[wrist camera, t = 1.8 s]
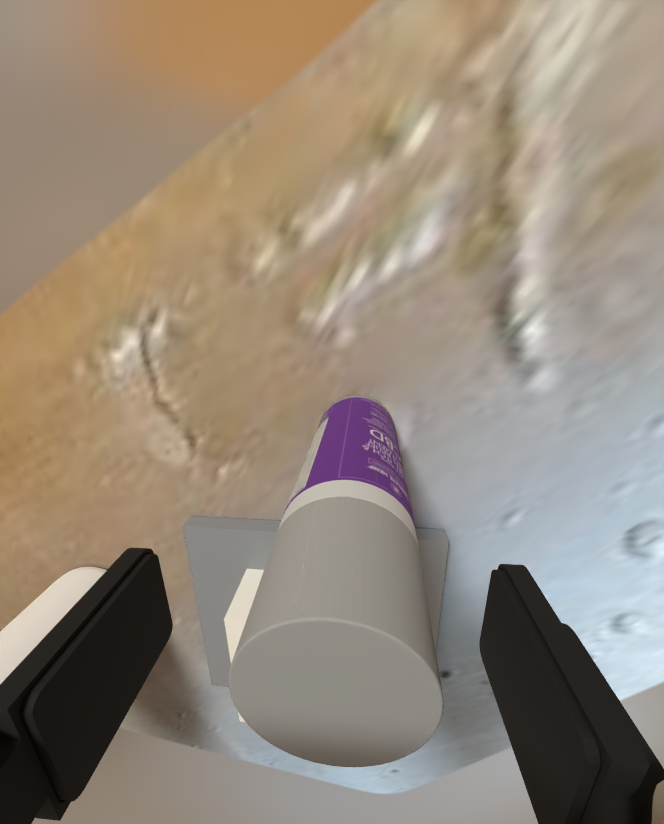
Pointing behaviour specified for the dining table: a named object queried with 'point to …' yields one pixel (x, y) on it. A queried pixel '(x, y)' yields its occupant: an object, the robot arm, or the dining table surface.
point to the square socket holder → (241, 573)
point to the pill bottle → (43, 616)
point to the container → (343, 607)
